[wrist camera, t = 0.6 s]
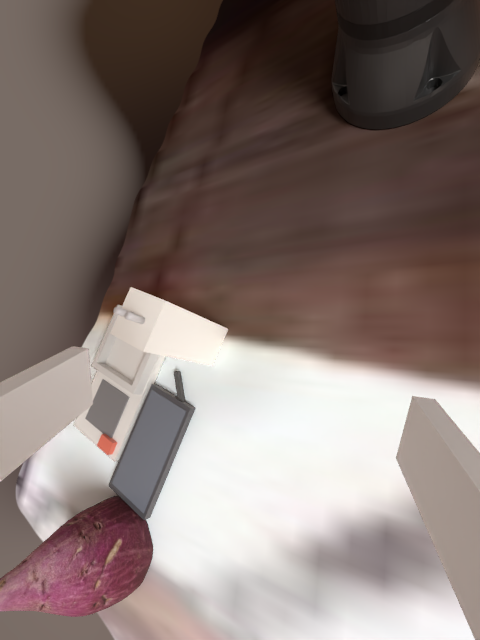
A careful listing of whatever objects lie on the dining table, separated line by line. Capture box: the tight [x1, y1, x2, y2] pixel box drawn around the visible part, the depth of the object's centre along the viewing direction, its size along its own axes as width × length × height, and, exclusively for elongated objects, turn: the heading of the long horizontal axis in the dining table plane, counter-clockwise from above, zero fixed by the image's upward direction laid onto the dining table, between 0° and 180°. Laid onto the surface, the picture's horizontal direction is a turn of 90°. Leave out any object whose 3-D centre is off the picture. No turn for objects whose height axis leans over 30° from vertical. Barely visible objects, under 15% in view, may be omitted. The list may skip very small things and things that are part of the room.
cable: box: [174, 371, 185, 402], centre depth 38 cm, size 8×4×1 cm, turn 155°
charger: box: [110, 287, 228, 366], centre depth 33 cm, size 5×5×14 cm
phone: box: [109, 384, 195, 520], centre depth 38 cm, size 7×14×1 cm, turn 155°
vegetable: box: [0, 496, 153, 617], centre depth 32 cm, size 10×10×15 cm
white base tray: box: [73, 305, 166, 462], centre depth 42 cm, size 20×10×3 cm, turn 155°
